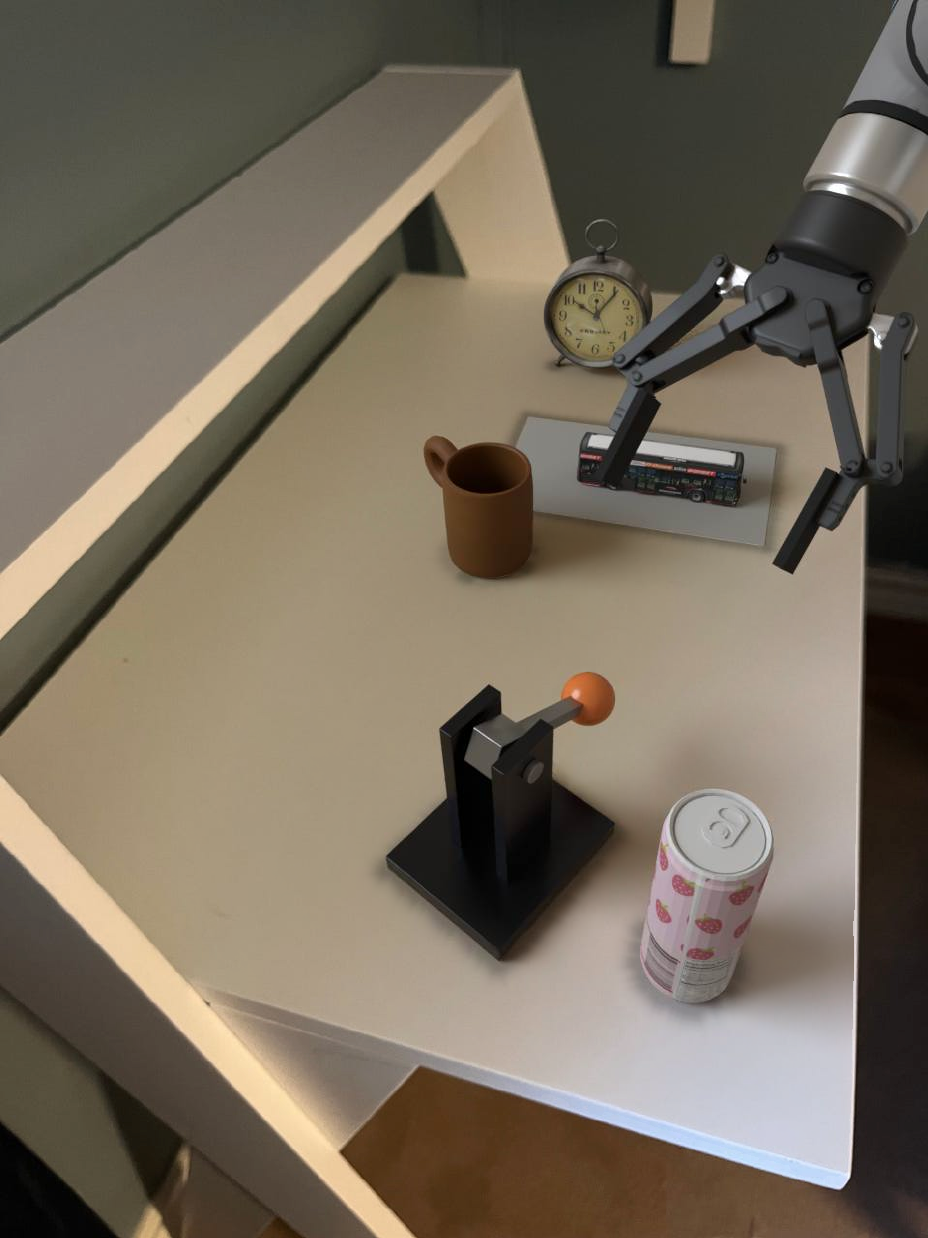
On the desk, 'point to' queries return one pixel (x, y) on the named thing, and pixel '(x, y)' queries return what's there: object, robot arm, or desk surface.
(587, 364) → the alarm clock
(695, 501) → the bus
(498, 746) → the switch lever
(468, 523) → the mug
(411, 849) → the switch bracket
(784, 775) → the desk surface
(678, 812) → the beverage can
